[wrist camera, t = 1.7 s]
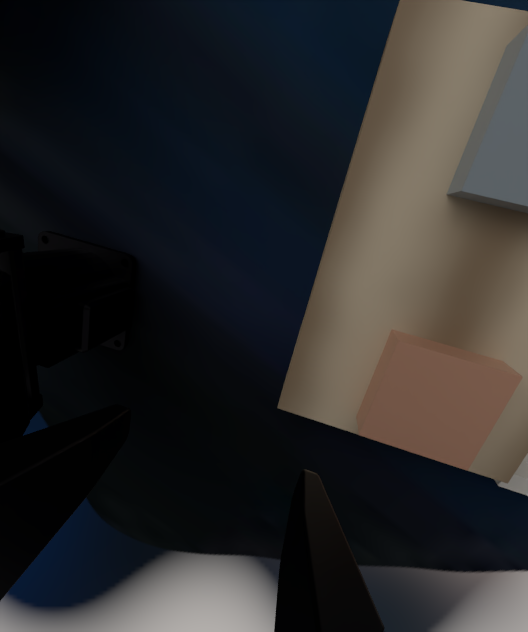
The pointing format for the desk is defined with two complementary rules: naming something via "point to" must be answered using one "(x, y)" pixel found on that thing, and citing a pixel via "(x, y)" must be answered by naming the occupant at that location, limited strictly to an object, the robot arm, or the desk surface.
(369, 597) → the robot arm
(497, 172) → the slate grey block
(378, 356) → the birch plate
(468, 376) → the terracotta tile
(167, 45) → the desk surface
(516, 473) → the tray
